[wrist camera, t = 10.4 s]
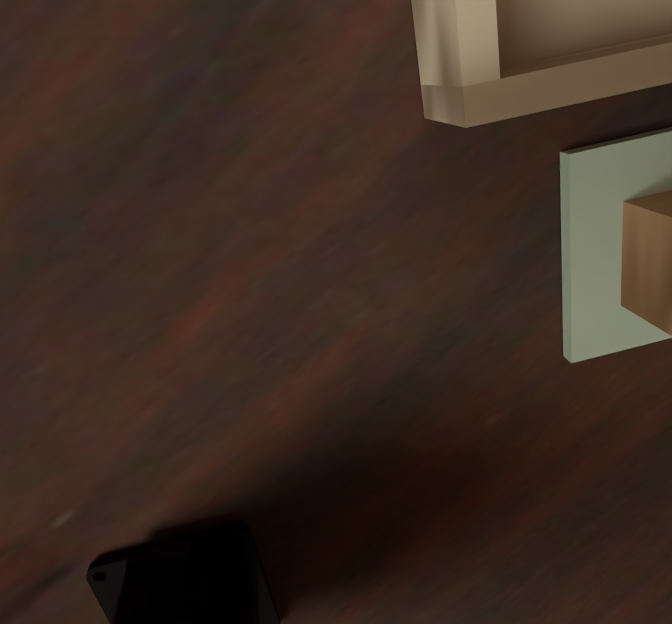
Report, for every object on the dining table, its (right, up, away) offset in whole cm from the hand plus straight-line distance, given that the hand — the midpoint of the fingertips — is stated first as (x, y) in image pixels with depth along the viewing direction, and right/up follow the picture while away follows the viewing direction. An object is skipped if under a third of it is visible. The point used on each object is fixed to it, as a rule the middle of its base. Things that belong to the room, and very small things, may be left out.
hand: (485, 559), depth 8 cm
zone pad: (+10, +7, +12) cm, 17 cm away
